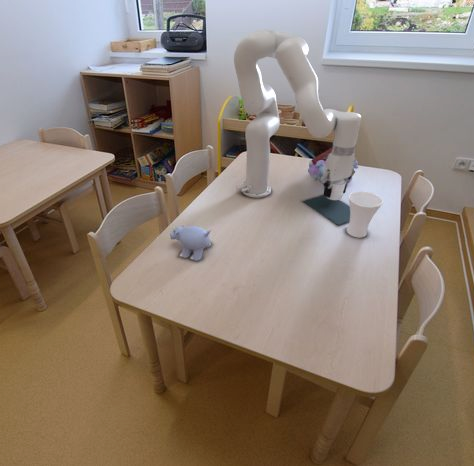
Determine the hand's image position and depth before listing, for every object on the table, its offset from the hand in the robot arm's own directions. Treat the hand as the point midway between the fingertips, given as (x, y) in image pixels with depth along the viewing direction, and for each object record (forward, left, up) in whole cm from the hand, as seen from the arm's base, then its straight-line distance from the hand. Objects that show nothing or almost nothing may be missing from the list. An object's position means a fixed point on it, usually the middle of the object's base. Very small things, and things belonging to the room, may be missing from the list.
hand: (334, 193), depth 127 cm
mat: (0, -1, -6) cm, 6 cm away
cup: (-4, -17, -6) cm, 19 cm away
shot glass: (0, 0, -1) cm, 1 cm away
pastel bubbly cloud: (+16, +20, -6) cm, 27 cm away
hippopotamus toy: (-60, +1, -7) cm, 60 cm away
